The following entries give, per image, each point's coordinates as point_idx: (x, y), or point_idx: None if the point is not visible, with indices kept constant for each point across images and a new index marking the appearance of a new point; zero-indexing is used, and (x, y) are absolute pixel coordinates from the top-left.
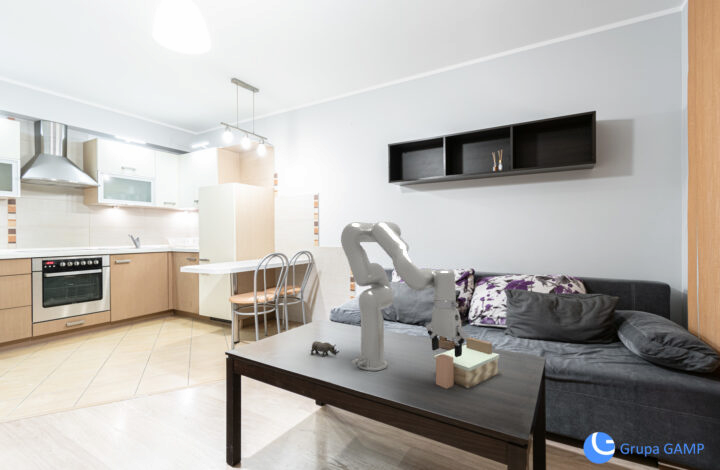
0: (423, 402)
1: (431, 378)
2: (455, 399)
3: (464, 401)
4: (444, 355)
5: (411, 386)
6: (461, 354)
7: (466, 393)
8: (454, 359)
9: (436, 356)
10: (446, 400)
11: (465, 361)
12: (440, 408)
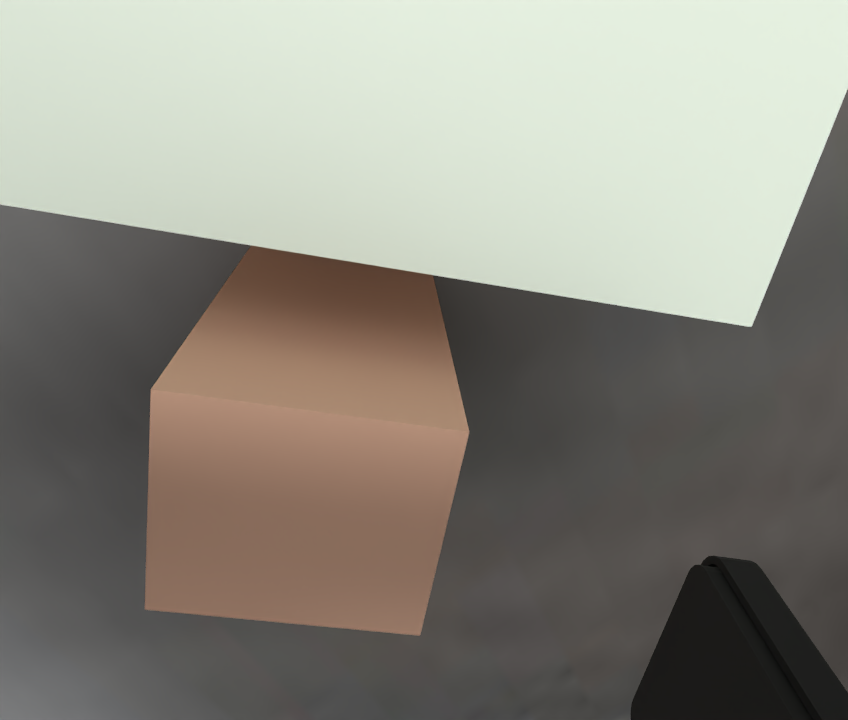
0: (371, 701)
1: (106, 248)
2: (569, 515)
3: (651, 497)
4: (250, 463)
5: (99, 559)
6: (754, 572)
7: (622, 341)
8: (339, 63)
9: (156, 607)
10: (508, 575)
11: (602, 12)
12: (521, 692)
